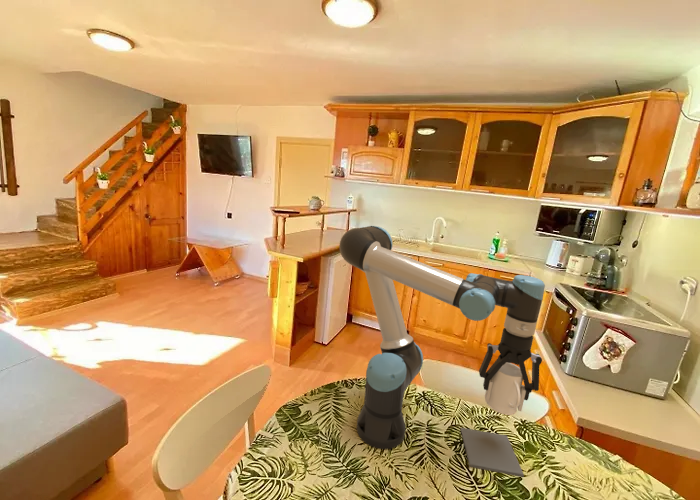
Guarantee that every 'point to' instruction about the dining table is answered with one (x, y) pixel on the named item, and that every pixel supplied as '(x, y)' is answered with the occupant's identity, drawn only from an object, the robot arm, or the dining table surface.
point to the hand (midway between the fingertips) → (502, 403)
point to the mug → (506, 389)
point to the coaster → (490, 452)
